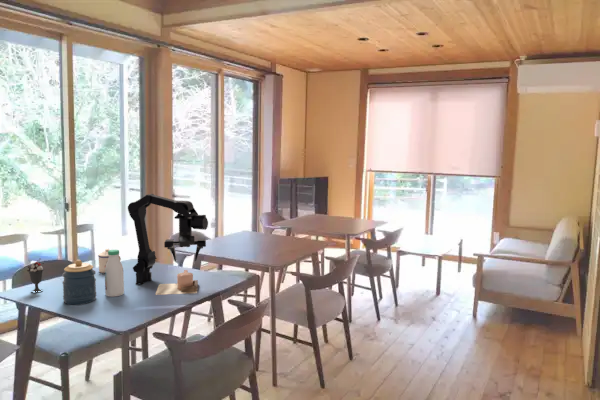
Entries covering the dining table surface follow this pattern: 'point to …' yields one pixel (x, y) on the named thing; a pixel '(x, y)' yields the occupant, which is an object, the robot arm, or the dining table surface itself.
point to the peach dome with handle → (184, 279)
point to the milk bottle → (114, 275)
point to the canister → (79, 283)
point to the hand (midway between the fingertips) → (185, 261)
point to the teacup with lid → (103, 260)
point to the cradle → (173, 289)
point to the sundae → (36, 274)
